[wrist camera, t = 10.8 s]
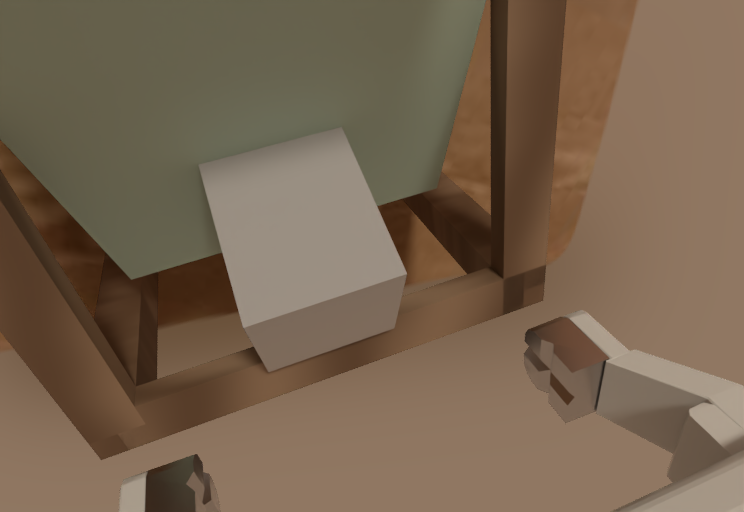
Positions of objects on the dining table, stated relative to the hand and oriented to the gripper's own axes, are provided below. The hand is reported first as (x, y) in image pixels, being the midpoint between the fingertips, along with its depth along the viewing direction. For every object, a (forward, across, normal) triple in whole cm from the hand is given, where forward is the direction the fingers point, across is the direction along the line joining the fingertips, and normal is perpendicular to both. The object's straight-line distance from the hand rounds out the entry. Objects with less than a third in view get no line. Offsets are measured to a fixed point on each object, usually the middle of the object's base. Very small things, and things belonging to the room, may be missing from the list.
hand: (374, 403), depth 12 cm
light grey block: (+10, 0, -1) cm, 10 cm away
